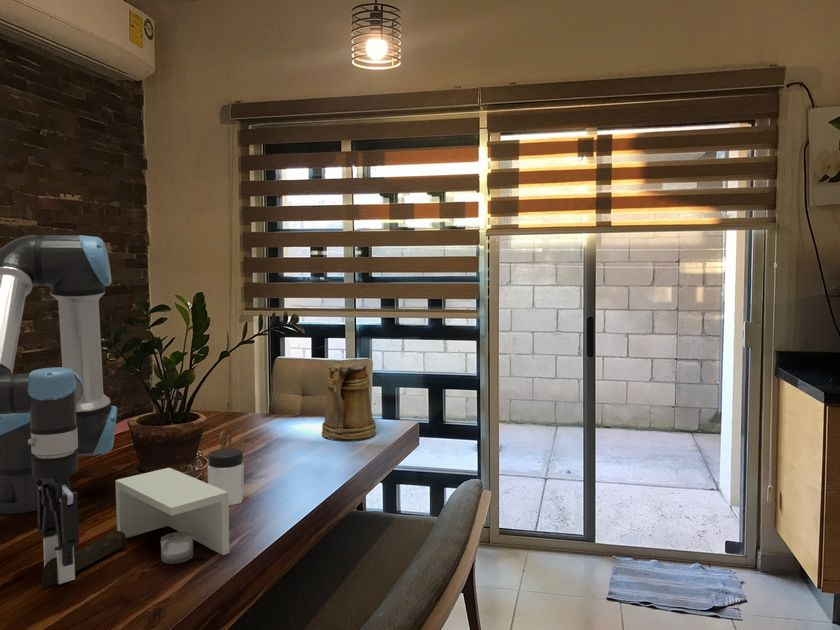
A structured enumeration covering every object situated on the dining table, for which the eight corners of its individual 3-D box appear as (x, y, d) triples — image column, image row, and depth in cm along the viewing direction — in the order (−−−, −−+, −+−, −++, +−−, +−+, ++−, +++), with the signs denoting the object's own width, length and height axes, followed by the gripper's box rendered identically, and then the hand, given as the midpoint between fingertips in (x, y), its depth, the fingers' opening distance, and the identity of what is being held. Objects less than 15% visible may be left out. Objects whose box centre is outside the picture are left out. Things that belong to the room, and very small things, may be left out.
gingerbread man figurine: (222, 479, 184) (221, 435, 183) (209, 478, 185) (208, 435, 184) (238, 470, 192) (237, 427, 192) (225, 469, 193) (224, 427, 192)
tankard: (380, 428, 240) (380, 358, 238) (365, 446, 216) (365, 368, 214) (330, 427, 242) (329, 357, 240) (310, 444, 219) (309, 367, 217)
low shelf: (117, 537, 145) (115, 480, 144) (170, 522, 154) (169, 467, 153) (173, 572, 129) (171, 508, 128) (229, 552, 138) (228, 492, 137)
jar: (252, 498, 170) (251, 450, 169) (230, 508, 162) (229, 459, 161) (223, 493, 173) (222, 446, 172) (200, 503, 166) (199, 454, 165)
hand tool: (113, 547, 141) (112, 525, 141) (128, 549, 140) (127, 527, 139) (31, 588, 123) (30, 563, 123) (48, 592, 122) (46, 566, 122)
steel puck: (155, 557, 136) (154, 538, 135) (183, 548, 140) (183, 529, 140) (170, 566, 132) (169, 546, 131) (198, 556, 136) (198, 537, 136)
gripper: (14, 447, 129) (19, 566, 131) (52, 467, 116) (57, 599, 118) (57, 440, 135) (61, 554, 136) (97, 458, 122) (101, 584, 124)
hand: (59, 575), depth 127 cm, fingers open, 6 cm apart
